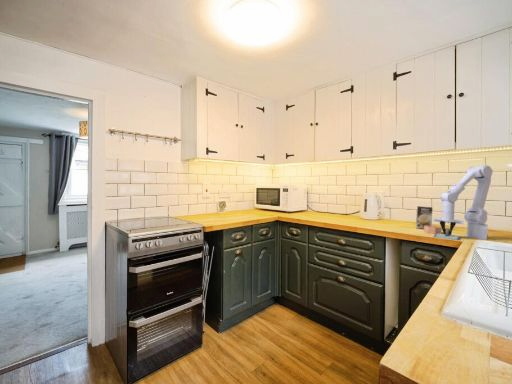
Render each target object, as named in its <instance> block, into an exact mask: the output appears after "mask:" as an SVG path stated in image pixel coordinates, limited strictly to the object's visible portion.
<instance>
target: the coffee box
mask: <svg viewBox="0 0 512 384" xmlns="http://www.w3.org/2000/svg"><path fill="white" fill-rule="evenodd" d="M432 221H433V207H430V206H417V207H416V220H415V229H418V230H424V226H425V225H433V223H432Z"/></svg>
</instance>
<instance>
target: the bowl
mask: <svg viewBox="0 0 512 384" xmlns="http://www.w3.org/2000/svg"><path fill="white" fill-rule="evenodd" d="M423 232H424V233H425V234H431V235H432V234H433V235H435V234H442V227H441V225H440V226H439V225H433V224H432V225H425V226H424V229H423Z"/></svg>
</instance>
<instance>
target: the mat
mask: <svg viewBox="0 0 512 384" xmlns="http://www.w3.org/2000/svg"><path fill="white" fill-rule="evenodd" d="M436 235H437V234H433V236H432V238H437V239H440V238H439V237H436ZM443 239H444V240H445V239H446V240H448V239H447V238H443ZM451 240H454V241H461V240H462V237H461V236H458V239H457V240H455V239H451Z"/></svg>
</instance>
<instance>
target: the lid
mask: <svg viewBox="0 0 512 384" xmlns="http://www.w3.org/2000/svg"><path fill="white" fill-rule="evenodd" d="M436 237H439V238H438V239H444V238H447V239H446V240H452V239H455V240H454V241H458V240H457V239H458V237H459V235H454V234H451V235H450V228H449V229H448V228H445V234H443V233H441V234H437V235H436ZM436 237H435V238H436Z"/></svg>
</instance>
